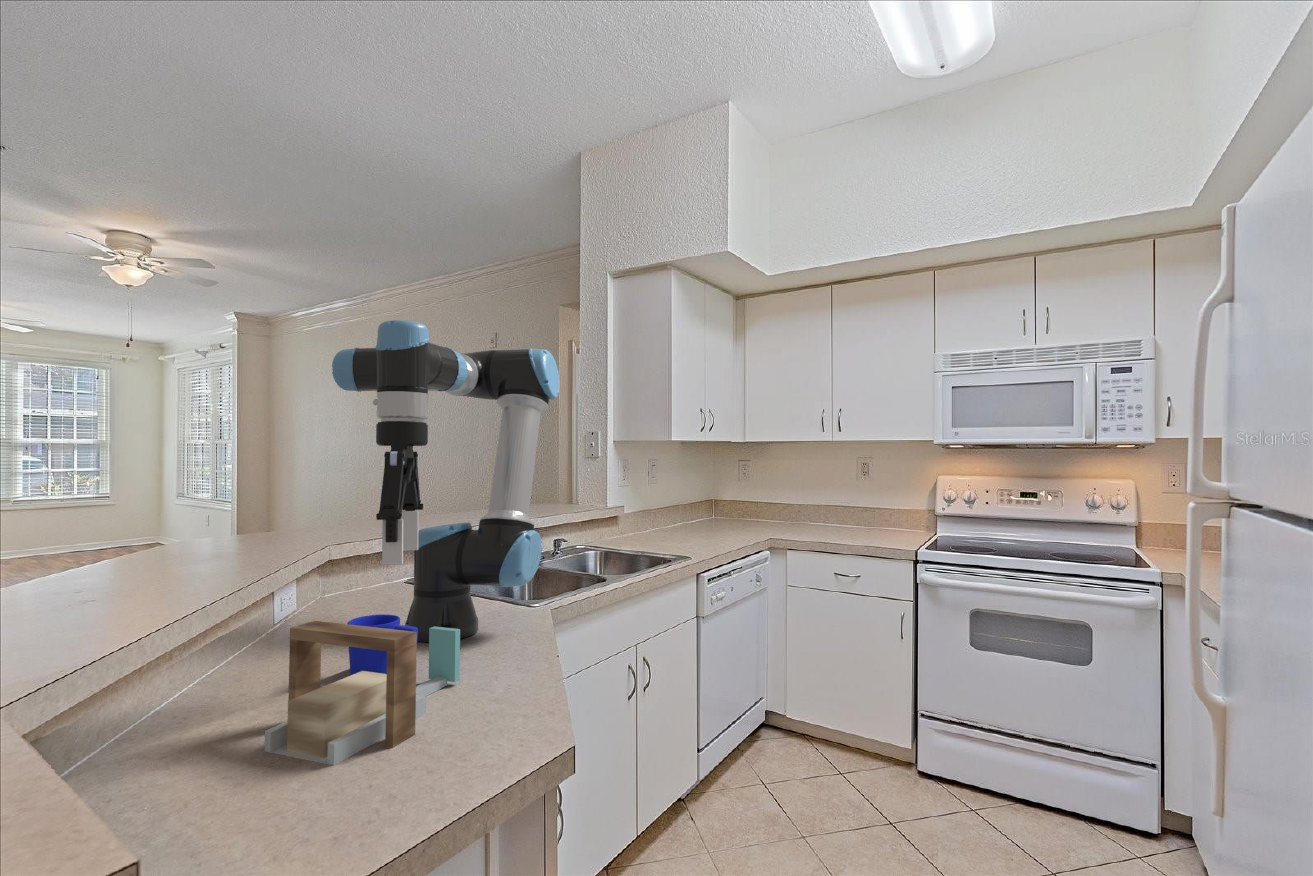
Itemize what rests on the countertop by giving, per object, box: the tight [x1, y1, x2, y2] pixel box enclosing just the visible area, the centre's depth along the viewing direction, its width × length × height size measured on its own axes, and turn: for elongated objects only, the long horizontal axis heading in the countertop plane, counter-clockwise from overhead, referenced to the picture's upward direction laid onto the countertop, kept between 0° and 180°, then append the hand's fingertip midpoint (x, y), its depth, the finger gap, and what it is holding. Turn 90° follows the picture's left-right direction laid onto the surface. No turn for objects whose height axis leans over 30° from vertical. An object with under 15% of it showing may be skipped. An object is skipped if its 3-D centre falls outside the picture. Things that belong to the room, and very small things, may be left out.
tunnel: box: [287, 620, 418, 749], centre depth 84 cm, size 4×17×14 cm, turn 71°
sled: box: [263, 626, 461, 766], centre depth 89 cm, size 28×11×10 cm, turn 161°
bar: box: [287, 671, 387, 758], centre depth 83 cm, size 12×6×6 cm, turn 161°
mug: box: [346, 613, 418, 676], centre depth 107 cm, size 8×12×10 cm
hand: (401, 557), depth 99 cm, fingers open, 13 cm apart
